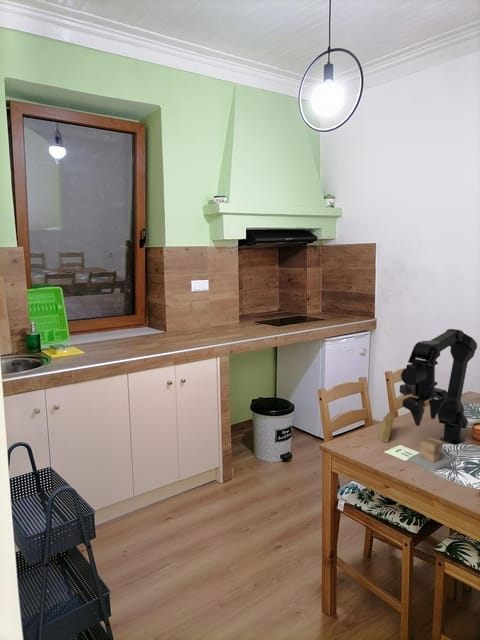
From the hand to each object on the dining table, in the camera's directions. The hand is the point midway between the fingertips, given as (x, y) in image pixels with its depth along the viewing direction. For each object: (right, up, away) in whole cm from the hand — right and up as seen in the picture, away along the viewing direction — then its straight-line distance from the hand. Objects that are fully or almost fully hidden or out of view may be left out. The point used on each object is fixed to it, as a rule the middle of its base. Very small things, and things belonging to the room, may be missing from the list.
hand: (425, 422), depth 159 cm
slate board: (+1, -13, -3) cm, 13 cm away
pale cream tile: (-6, -12, +4) cm, 14 cm away
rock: (-9, -10, +18) cm, 23 cm away
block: (+1, -12, -3) cm, 12 cm away
